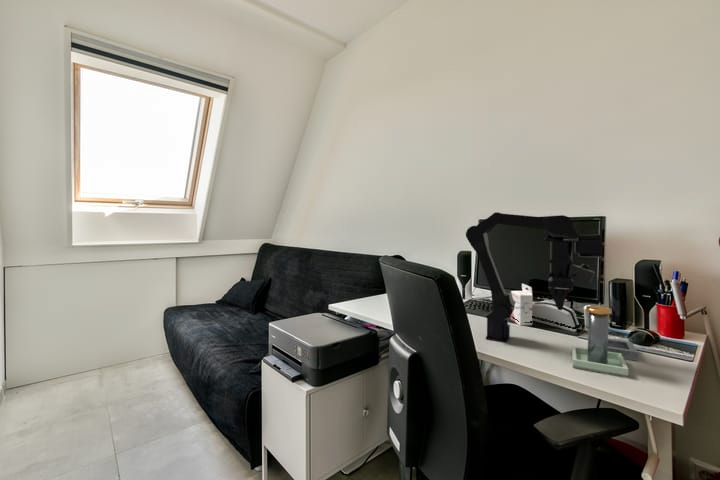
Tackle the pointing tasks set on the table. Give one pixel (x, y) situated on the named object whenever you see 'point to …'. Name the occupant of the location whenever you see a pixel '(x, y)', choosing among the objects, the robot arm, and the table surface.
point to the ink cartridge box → (522, 305)
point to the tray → (613, 368)
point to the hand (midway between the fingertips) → (560, 306)
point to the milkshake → (586, 317)
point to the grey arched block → (555, 315)
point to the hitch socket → (623, 349)
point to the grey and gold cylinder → (598, 333)
